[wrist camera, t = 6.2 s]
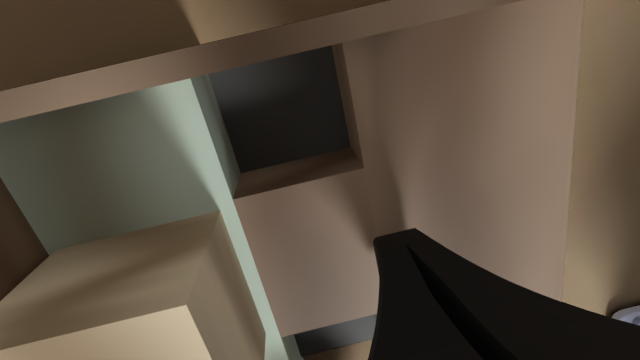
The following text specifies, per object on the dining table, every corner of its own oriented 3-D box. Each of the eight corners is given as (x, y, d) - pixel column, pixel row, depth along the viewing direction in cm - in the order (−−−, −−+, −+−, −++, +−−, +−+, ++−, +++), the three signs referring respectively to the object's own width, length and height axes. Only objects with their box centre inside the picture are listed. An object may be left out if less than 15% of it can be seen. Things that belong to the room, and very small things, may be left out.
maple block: (220, 210, 10) (185, 304, 7) (265, 333, 12) (259, 459, 9) (55, 250, 10) (-71, 367, 7) (127, 367, 12) (60, 508, 9)
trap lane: (523, -27, 11) (668, -67, 7) (519, 307, 16) (599, 397, 12) (-2, 96, 11) (-176, 131, 7) (168, 393, 16) (129, 514, 12)
